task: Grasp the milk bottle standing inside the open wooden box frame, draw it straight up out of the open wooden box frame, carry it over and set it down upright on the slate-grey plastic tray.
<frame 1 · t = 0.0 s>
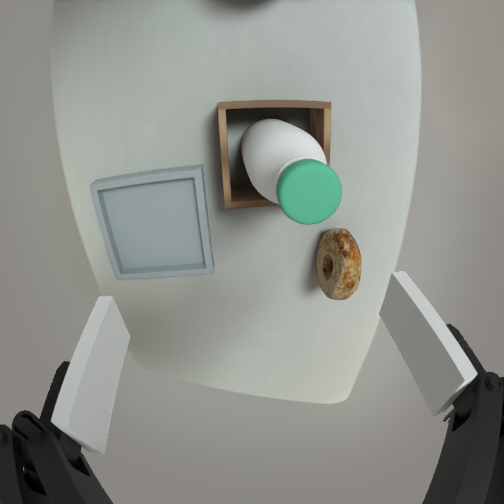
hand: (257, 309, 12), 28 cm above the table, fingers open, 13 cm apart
bagel: (325, 247, 45), on the table
open wooden box frame: (269, 145, 35), on the table
milk bottle: (269, 145, 36), resting in open wooden box frame
tray: (155, 223, 40), on the table
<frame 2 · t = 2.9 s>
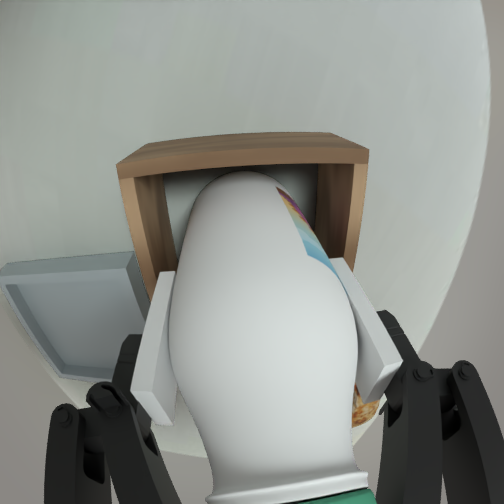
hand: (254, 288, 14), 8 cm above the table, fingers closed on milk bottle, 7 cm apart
bagel: (331, 346, 30), on the table
open wooden box frame: (243, 218, 21), on the table
milk bottle: (243, 217, 21), resting in open wooden box frame, touching gripper
tray: (87, 322, 25), on the table
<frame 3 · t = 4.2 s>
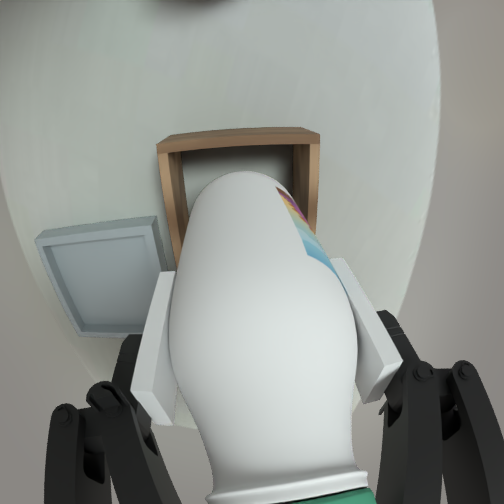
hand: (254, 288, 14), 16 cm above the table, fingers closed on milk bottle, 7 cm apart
open wooden box frame: (239, 189, 28), on the table
milk bottle: (243, 217, 21), point 8 cm above the table, touching gripper
tray: (110, 280, 32), on the table
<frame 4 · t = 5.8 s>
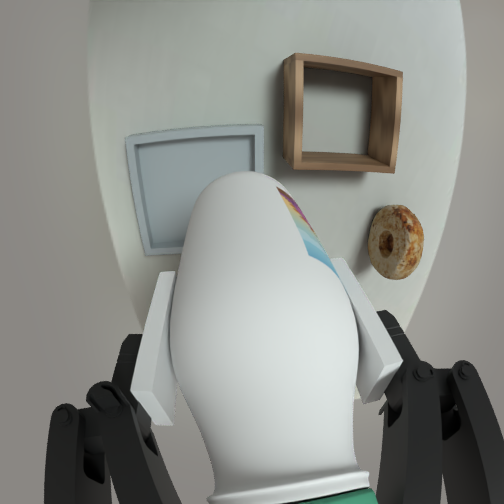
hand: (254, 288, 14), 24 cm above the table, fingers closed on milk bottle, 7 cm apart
bagel: (377, 225, 40), on the table
open wooden box frame: (332, 111, 31), on the table
milk bottle: (243, 218, 21), point 15 cm above the table, touching gripper
tray: (198, 188, 35), on the table
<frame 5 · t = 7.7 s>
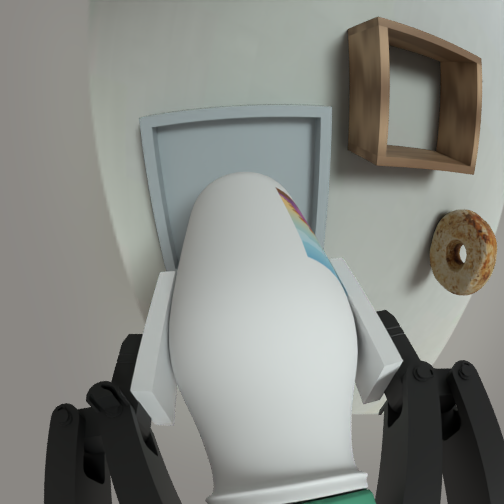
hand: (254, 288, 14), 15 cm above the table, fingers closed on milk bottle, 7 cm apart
bagel: (438, 232, 31), on the table
open wooden box frame: (403, 96, 22), on the table
milk bottle: (243, 218, 21), point 6 cm above the table, touching gripper
tray: (239, 188, 26), on the table
when the fingers open (10 cm above the table, at t = 9.1 s): milk bottle stays where it is, resting on tray.
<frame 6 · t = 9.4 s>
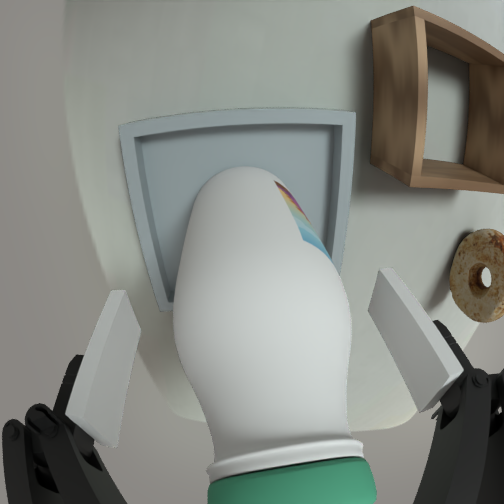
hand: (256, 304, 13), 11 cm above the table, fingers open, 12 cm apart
bagel: (459, 252, 27), on the table
open wooden box frame: (431, 102, 18), on the table
milk bottle: (243, 211, 22), point 1 cm above the table, touching tray
tray: (242, 209, 22), on the table
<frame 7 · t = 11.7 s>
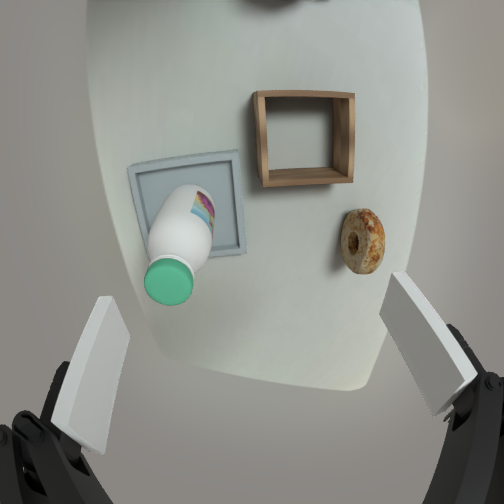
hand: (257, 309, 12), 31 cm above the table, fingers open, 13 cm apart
bagel: (348, 227, 47), on the table
open wooden box frame: (298, 132, 38), on the table
milk bottle: (190, 206, 42), point 1 cm above the table, touching tray
tray: (190, 205, 42), on the table
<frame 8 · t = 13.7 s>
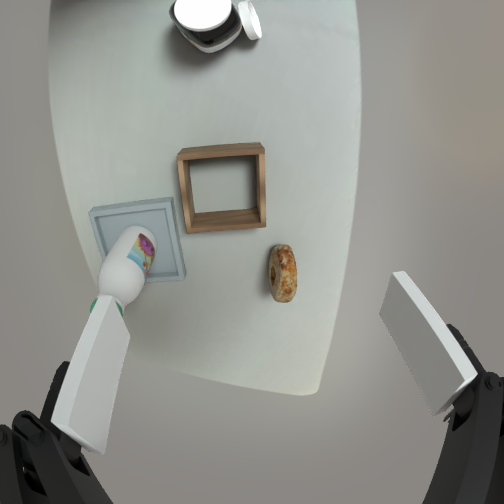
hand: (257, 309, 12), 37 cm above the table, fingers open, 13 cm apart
bagel: (276, 258, 56), on the table
spread jar: (221, 25, 32), on the table
open wooden box frame: (223, 181, 46), on the table
milk bottle: (138, 242, 50), point 1 cm above the table, touching tray
tray: (139, 241, 50), on the table
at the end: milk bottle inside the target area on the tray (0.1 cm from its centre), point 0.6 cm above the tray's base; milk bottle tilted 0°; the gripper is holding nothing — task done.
